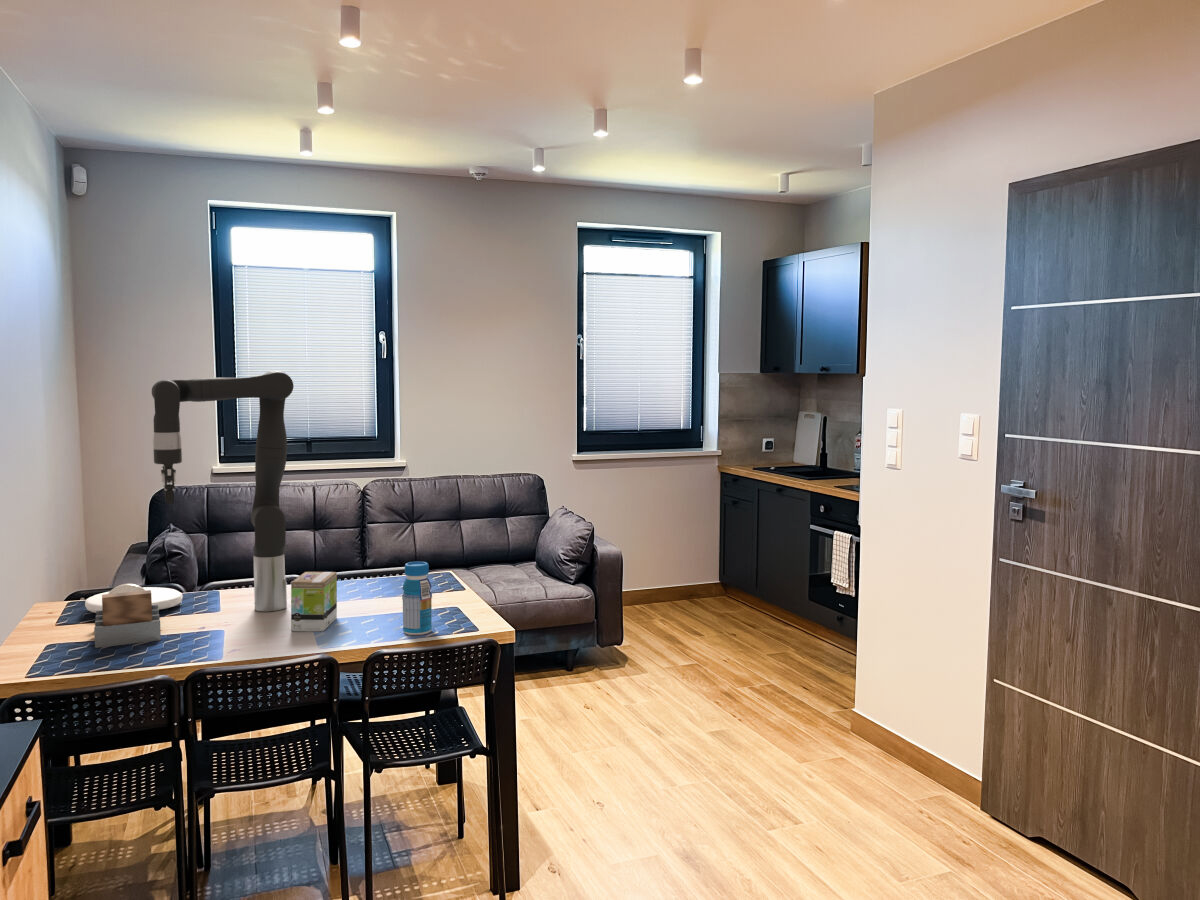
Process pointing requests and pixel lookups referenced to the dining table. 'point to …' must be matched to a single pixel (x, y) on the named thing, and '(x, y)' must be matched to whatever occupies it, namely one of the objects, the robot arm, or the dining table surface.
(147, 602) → the walnut board
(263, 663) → the dining table surface
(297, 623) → the tea box
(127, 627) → the dish rack
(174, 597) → the plate
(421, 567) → the beverage bottle
